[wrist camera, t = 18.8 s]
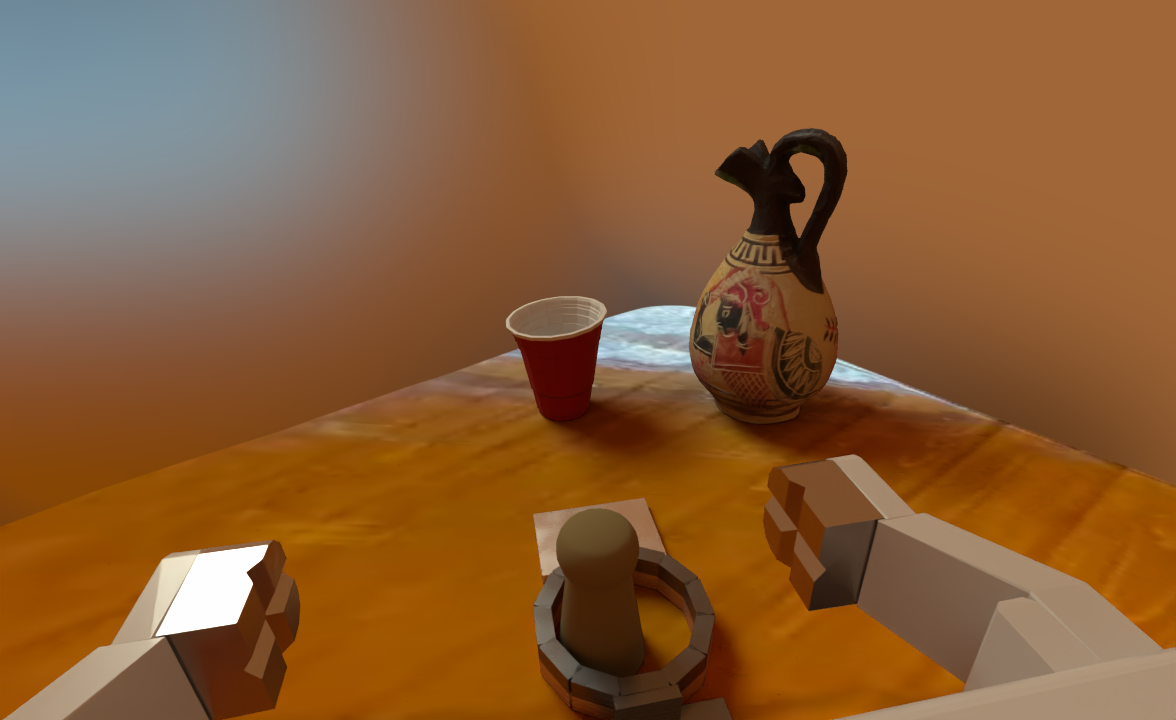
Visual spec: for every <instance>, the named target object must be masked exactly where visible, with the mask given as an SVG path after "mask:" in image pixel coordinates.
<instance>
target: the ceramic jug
mask: <svg viewBox="0 0 1176 720" xmlns="http://www.w3.org/2000/svg"><path fill="white" fill-rule="evenodd" d="M800 152H802V153H806V154H809V155H813V156H816V157H817V158H819V159H820V161H821V162H822V163H823V165H824V169H825V170H824V184H823V188H822V190H821V193H820V195H819V197H818V200H817V203H816V205H815V208H814V210H813V213H812V215H811V217H810V219H809V221H808V222H807V224H806V226H805V228H804V231H803V233H802V235H801V238H798V236H797V234H796V231H795V228H794V226H793V223H792V220H791V216H790V204H792V203H801V202H803V201H804V198H805V187H804V186H803V184H802V183H801V181H800V179H799V178H798V177H797V175H796V174H795V173H794V172H793V169H792V167H791V166H790V163H789V159H790V157H791V156H792V155H794V154H796V153H800ZM715 175H716V176H718V177H720V178H722V179H723V180H725V181H727V182H730V183H732V184H735V185H736V186H738V187H739V188H741V189H742V190H744V191H746V192H747V193H748V194H749V195H750V196H751V197H752V198H753V201H754V207H755V211H754V215H753V218H752V222H751V225H750V227H749V229H747V230H746V232H745V234H744V236H743V237H742V238H741V240H740V241H739V242H738V243H737V244H736V245H735V246H734V247H733V248H732V250H731V251H730V252H729V253H728V255H727V256H726V258H725V259H724V261H723V262H722V263H721V265H720V266H719V268H718V269H717V270H716V272H715V273H714V275H713V276H712V278H711V279H710V281H709V282H708V284H707V286H706V287H705V289H704V291H703V293H702V295H701V297H700V300H699V302H698V305H697V308H696V311H695V315H694V318H693V323H692V326H691V329H690V341H689V350H690V357H691V362H692V366H693V369H694V372H695V374H696V376H697V377H698V379H699V381H700V382H701V383H702V384H703V385H704V386H705V387H706V389H707V390H708V391H709V392H710V393H711V394H712V395H713V397H714V398H715V402H716V405H717V407H718V408H719V409H720V410H721V411H722V412H723V413H725V414H727V415H729V416H730V417H732V418H733V419H736V420H739V421H743V422H747V423H755V424H767V423H776V422H781V421H786V420H790V419H794V418H795V417H796V416H797V415H799V410H800V406H801V404H802V403H804V402H805V401H807V400H808V399H809V398H811V397H812V396H814V395H815V394H817V393H818V392H819V391H820V390H821V389H822V388H823V387H824V385H825V384H826V383H827V381H828V379H829V377H830V375H831V373H832V370H833V368H834V365H835V363H836V359H837V348H838V345H837V344H838V343H837V342H838V329H837V318H836V316H835V312H834V308H833V305H832V301H831V298H830V296H829V293H828V291H827V289H826V287H825V284H824V282H823V280H822V277H821V270H820V261H819V256H818V253H817V244H818V242H819V240H820V237H821V235H822V233H823V231H824V229H825V226H826V224H827V222H828V219H829V218H830V216H831V215H832V213H833V211H834V209H835V207H836V205H837V203H838V201H839V198H840V196H841V193H842V190H843V185H844V182H845V179H846V175H847V158H846V153H845V152H844V149H843V147H842V145H841V143H840V141H838V140H837V139H836V137H834V136H832V135H830V134H829V133H827V132H825V131H823V130H821V129H813V128H811V129H801V130H796V131H794V132H791V133H789V134H787V135H785V136H783V137H782V138H781V139H780V140H779V141H778V142H777V143H776V144H775V145H774V147H773V149H772V151H771V153H770V154H769V152H768V150H767V147H766V145H765V143H764V141H763V140H758V141H757V143H755V144H754V145H753V146H752V147H751V148H749V149H747V148H745V147H739V148H738V149H736V150H735V151H734V152H733V153H732V154H730V155H729V156H728V157H727V158H726V159H725V161H724V162H723V164H722V165H721V166H720V167H719V168H718V169H717V170H716V171H715Z"/></svg>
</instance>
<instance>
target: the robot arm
mask: <svg viewBox="0 0 1176 720" xmlns="http://www.w3.org/2000/svg"><path fill="white" fill-rule="evenodd" d="M767 486H768V488H769V489H770V491H771V492H772V494H773V495H774V496H773V497H772V498H771V499H770V501H769V502H768V503H767V504H766V505H765V508H764V519H763V522H764V528H765V534H766V538H767V541H768V543H769V546H770V549H771V550H772V552H773V554H774V555H775V557H776V559H777V560H779V561H780V562H782V563H784V564H785V565H787V566H789V567H791V571H790V578H789V580H790V582H791V583H792V585H793V587H794V588H795V590H796V592H797V593H798V595H799V596H800V598H801V600H802V601H803V603H804V604H805V606H806V608H807V609H808V611H813V610H819V609H826V608H832V607H839V606H845V605H852V604H857V607H858V608H860V609H861V610H863V611H864V612H866V613H867V614H868V615H870V616H871V617H873V618H874V619H875V620H877V621H878V622H880V623H881V624H882V625H884V626H885V627H887V628H888V629H890V630H891V631H892V632H894V633H895V634H897V635H898V636H899V637H901V638H902V639H904V640H905V641H906V642H908V643H909V644H911V645H912V646H913V647H915V648H916V649H918V650H919V651H921V652H922V653H923V654H925V655H926V656H928V657H929V658H930V659H932V660H933V661H935V662H936V663H937V664H939V665H940V666H942V667H943V668H945V669H946V670H947V671H949V672H950V673H952V674H953V675H954V676H956V677H957V678H959V679H960V680H961V681H963V682H964V683H966V684H965V686H964V689H963V691H962V693H957V694H952V695H947V696H943V697H938V698H933V699H928V700H924V701H919V702H914V703H909V704H905V705H900V706H895V707H891V708H886V709H881V710H876V711H872V712H867V713H862V714H857V715H853V716H848V717H843V718H839V719H834V720H1176V647H1174V648H1170V649H1165V650H1163V649H1162V648H1161V647H1160V646H1159V645H1158V644H1157V643H1155V642H1154V641H1153V640H1152V639H1151V638H1150V637H1148V636H1147V635H1146V634H1145V633H1144V632H1143V631H1141V630H1140V629H1139V628H1138V627H1137V626H1136V625H1135V624H1133V623H1132V622H1131V621H1130V620H1129V619H1128V618H1126V617H1125V616H1124V615H1123V614H1122V613H1121V612H1119V611H1118V610H1117V609H1116V608H1115V607H1114V606H1113V605H1111V604H1110V603H1109V602H1108V601H1107V600H1106V599H1104V598H1103V597H1102V596H1101V595H1100V594H1099V593H1097V592H1096V591H1095V590H1094V589H1093V588H1092V587H1091V586H1089V585H1088V584H1087V583H1085V582H1083V581H1081V580H1078V579H1076V578H1074V577H1071V576H1069V575H1067V574H1064V573H1062V572H1060V571H1057V570H1055V569H1053V568H1051V567H1048V566H1046V565H1044V564H1041V563H1039V562H1037V561H1034V560H1032V559H1030V558H1027V557H1025V556H1023V555H1021V554H1018V553H1016V552H1014V551H1011V550H1009V549H1007V548H1004V547H1002V546H1000V545H997V544H995V543H993V542H991V541H988V540H986V539H984V538H981V537H979V536H977V535H974V534H972V533H970V532H967V531H965V530H963V529H961V528H958V527H956V526H954V525H951V524H949V523H947V522H944V521H942V520H940V519H937V518H935V517H933V516H931V515H928V514H926V513H921V514H916V513H915V512H914V511H913V510H912V509H911V508H910V507H909V506H908V505H907V504H906V503H905V502H904V501H903V500H902V499H901V498H900V497H899V496H898V495H897V494H896V493H895V492H894V491H893V490H892V489H891V488H890V487H889V486H888V485H887V484H886V483H885V482H884V481H883V480H882V479H881V478H880V477H879V475H878V474H877V473H876V472H875V471H874V470H873V469H872V468H871V467H870V466H869V465H868V464H867V463H866V462H865V461H864V460H863V459H862V458H861V457H859V456H856V455H854V454H853V455H847V456H841V457H835V458H829V459H826V460H820V461H813V462H807V463H800V464H794V465H787V466H780V467H774V468H773V469H772V470H771V472H770V474H769V479H768V485H767ZM285 561H286V556H285V553H284V551H283V549H282V546H281V544H280V542H277V541H275V540H270V541H262V542H254V543H246V544H238V545H230V546H221V547H213V548H206V549H204V550H194V551H186V552H178V553H171V554H170V555H168V556H167V557H165V558H164V559H162V560H161V562H160V563H159V565H158V567H157V568H156V570H155V572H154V573H153V575H152V577H151V578H150V580H149V582H148V583H147V585H146V587H145V588H144V590H143V592H142V593H141V595H140V597H139V598H138V600H137V602H136V604H135V605H134V607H133V609H132V610H131V612H130V614H129V615H128V617H127V619H126V620H125V622H124V624H123V625H122V627H121V629H120V630H119V632H118V634H117V635H116V637H115V639H114V640H113V642H112V644H111V645H109V646H104V647H98V648H97V649H96V650H94V651H93V652H92V653H91V654H89V655H88V656H87V657H85V658H84V659H83V660H81V661H80V662H79V663H77V664H76V665H75V666H73V667H72V668H71V669H69V670H68V671H67V672H66V673H64V674H63V675H62V676H60V677H59V678H58V679H56V680H55V681H54V682H52V683H51V684H50V685H48V686H47V687H46V688H44V689H43V690H42V691H41V692H39V693H38V694H37V695H35V696H34V697H33V698H31V699H30V700H29V701H27V702H26V703H25V704H23V705H22V706H21V707H19V708H18V709H17V710H16V711H14V712H13V713H12V714H10V715H9V716H8V717H6V718H5V719H4V720H223V719H228V718H233V717H238V716H242V715H247V714H252V713H257V712H261V711H266V710H271V709H275V706H276V703H277V699H278V696H279V692H280V689H281V686H282V682H283V679H284V675H285V672H286V669H287V666H286V663H285V661H284V658H283V656H282V653H283V652H284V651H285V650H286V649H287V648H288V647H289V646H290V645H291V644H292V643H293V642H294V641H295V637H296V633H297V629H298V626H299V614H300V601H299V594H298V589H297V586H296V583H295V580H294V579H293V578H292V577H290V576H288V575H287V574H285V573H284V572H282V570H283V567H284V564H285Z"/></svg>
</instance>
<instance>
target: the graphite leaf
mask: <svg viewBox="0 0 1176 720" xmlns="http://www.w3.org/2000/svg"><path fill="white" fill-rule="evenodd" d="M634 571H636V572H640V573H644V574H648V575H652V576H656V577H659V578H660V579H661V580H662V581H664V582H665V583H666V584H667V585H669V586H670V587H671V588H672V589H673V590H675V591H676V592H677V593H678V594H680V595H681V596H682V597H683V598H684V600H685V602H686V605H687V607H688V610H689V612H690V615H691V617H692V620H693V623H694V627H693V631H692V635H691V639H690V643H689V646H688V647H687V648H686V649H685V650H683V651H682V652H681V653H680V654H679V655H678V656H677V657H675V658H674V659H673V660H672V661H671V662H670V663H669V664H667V665H666V666H665V667H664V668H663V669H662V670H659V671H654V672H648V673H643V674H638V675H633V676H627V677H622V678H619V677H616V676H613V675H610V674H606V673H603V672H600V671H597V670H593V669H590V668H587V667H584V666H581V665H580V664H579V663H578V662H577V661H576V660H575V659H574V658H573V657H572V656H571V654H570V653H569V652H568V651H567V650H566V649H565V648H564V647H563V646H562V645H561V644H560V643H559V642H558V641H557V639H556V637H555V631H554V624H553V617H554V615H555V613H556V611H557V609H558V607H559V605H560V603H561V601H562V599H563V595H564V585H565V575H564V574H563V572H562V570H561V567H560V566H559V567H557V568H556V569H554V570H553V571H552V573H550V575H549V576H548V578H547V580H546V582H545V584H544V586H543V588H542V590H541V592H540V594H539V595H538V597H537V599H536V601H535V603H534V607H533V610H534V619H535V628H536V636H537V644H538V653H539V659H540V662H541V663H542V664H543V665H544V666H545V667H546V668H547V670H548V671H549V672H550V673H551V674H552V675H553V676H554V678H555V679H556V680H557V681H558V682H559V683H560V685H561V686H562V687H563V688H564V689H565V690H566V691H567V693H568V694H570V693H572V696H573V697H576V698H579V699H582V700H585V701H588V702H591V703H594V704H597V705H600V706H604V707H607V708H610V709H613V719H612V720H732V718H731V715H730V713H729V710H728V708H727V705H726V703H725V700H724V698H723V697H722V698H717V699H712V700H707V701H702V702H697V703H692V704H687V705H682V706H681V703H682V696H681V692H682V691H683V690H684V689H685V688H686V687H687V686H688V685H690V684H691V683H692V682H693V681H694V680H695V679H696V678H697V677H698V676H699V675H700V674H701V673H702V672H703V671H704V670H705V668H706V665H707V660H708V655H709V650H710V645H711V640H712V635H713V630H714V621H715V616H714V615H715V613H714V610H713V608H712V606H711V604H710V601H709V599H708V597H707V595H706V592H705V590H704V588H703V586H702V583H701V581H700V579H698V577H697V576H696V575H695V574H693V573H692V572H691V571H690V570H688V569H687V568H686V567H684V566H683V565H682V564H680V563H679V562H678V561H676V560H675V559H674V558H672V557H671V556H670V555H668V554H666V555H665V552H660V551H656V550H652V549H648V548H643V547H639V557H638V561H637V564H636V567H635V570H634Z"/></svg>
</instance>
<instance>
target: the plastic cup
mask: <svg viewBox="0 0 1176 720" xmlns="http://www.w3.org/2000/svg"><path fill="white" fill-rule="evenodd" d="M606 313H607V311H606V308H605V306H604V304H602V303H600V302H598V301H596V300H595V299H591V298H586V297H579V296H561V297H555V298H548V299H542V300H539V301H535V302H532V303H529V304H526V305H525V306H522V307H521V308H519V309H517V310H515V311H513V312H512V313H511V315H510V316H509V317H508V318H507V319H506V327H507V329H508V331H509V332H511V333H512V334H513V336H514V338H515V341H516V342H517V344H518V347H519V349H520V350H521V354H522V357H523V361H524V364H525V367H526V371H527V374H528V378H529V381H530V384H531V388H532V389H533V392H534V396H535V399H536V403H537V407H538V409H539V411H540V413H541V414H542V415H543V416H544V417H546V418H549V419H551V420H557V421H566V420H572V419H575V418H578V417H580V416H582V415H583V414H584V413H586V411H587V409H588V405H589V403H590V397H591V390H592V384H593V382H594V375H595V368H596V360H597V353H598V345H599V340H600V335H601V330H602V323H603V320H604V319H605V317H606Z"/></svg>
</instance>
